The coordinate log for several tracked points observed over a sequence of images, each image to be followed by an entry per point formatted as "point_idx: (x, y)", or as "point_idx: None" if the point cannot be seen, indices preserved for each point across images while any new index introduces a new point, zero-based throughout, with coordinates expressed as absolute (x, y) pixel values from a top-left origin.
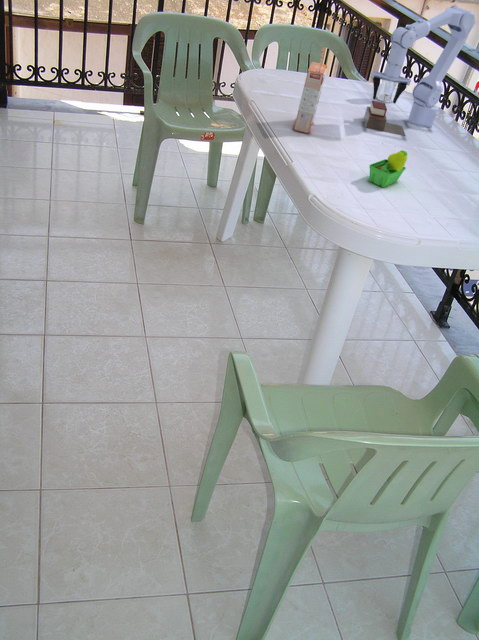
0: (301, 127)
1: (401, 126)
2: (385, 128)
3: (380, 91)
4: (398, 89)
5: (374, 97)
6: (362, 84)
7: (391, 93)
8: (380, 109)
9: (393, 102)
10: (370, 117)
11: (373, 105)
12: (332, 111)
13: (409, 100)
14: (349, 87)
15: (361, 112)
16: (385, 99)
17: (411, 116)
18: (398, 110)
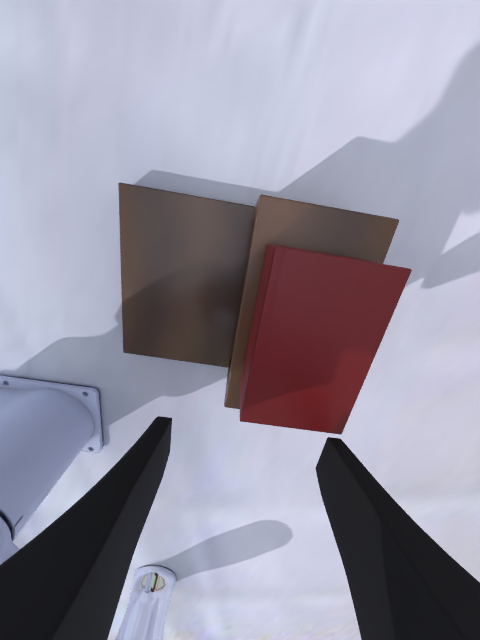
0: None
1: (127, 343)
2: (225, 271)
3: (166, 611)
4: (88, 598)
5: (346, 450)
6: (198, 636)
7: (130, 609)
8: (330, 260)
9: (170, 429)
10: (384, 217)
11: (393, 308)
12: (399, 430)
13: None
14: (244, 613)
15: (268, 463)
16: (153, 576)
17: (63, 437)
18: None
